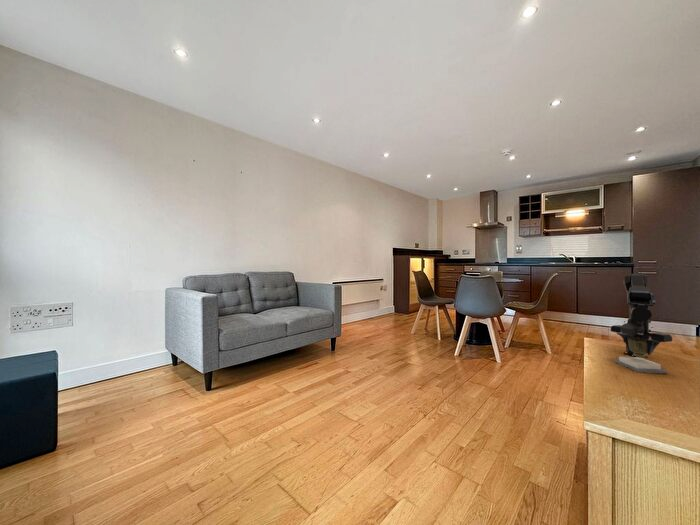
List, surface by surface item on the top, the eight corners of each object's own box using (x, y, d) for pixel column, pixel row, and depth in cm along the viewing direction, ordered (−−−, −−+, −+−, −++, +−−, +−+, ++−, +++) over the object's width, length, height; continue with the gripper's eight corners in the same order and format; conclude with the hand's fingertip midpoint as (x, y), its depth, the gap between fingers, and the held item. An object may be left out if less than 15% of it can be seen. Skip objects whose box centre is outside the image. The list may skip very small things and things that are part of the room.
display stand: (613, 362, 127) (613, 355, 127) (639, 363, 126) (639, 356, 126) (638, 372, 115) (638, 364, 115) (667, 373, 114) (667, 366, 114)
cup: (640, 354, 124) (640, 336, 124) (656, 360, 117) (656, 341, 117) (622, 353, 125) (622, 336, 125) (637, 359, 117) (637, 340, 118)
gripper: (602, 314, 128) (601, 347, 128) (654, 322, 110) (654, 361, 110) (619, 313, 131) (619, 345, 131) (673, 321, 112) (673, 359, 112)
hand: (639, 352), depth 121 cm, fingers closed on cup, 6 cm apart
